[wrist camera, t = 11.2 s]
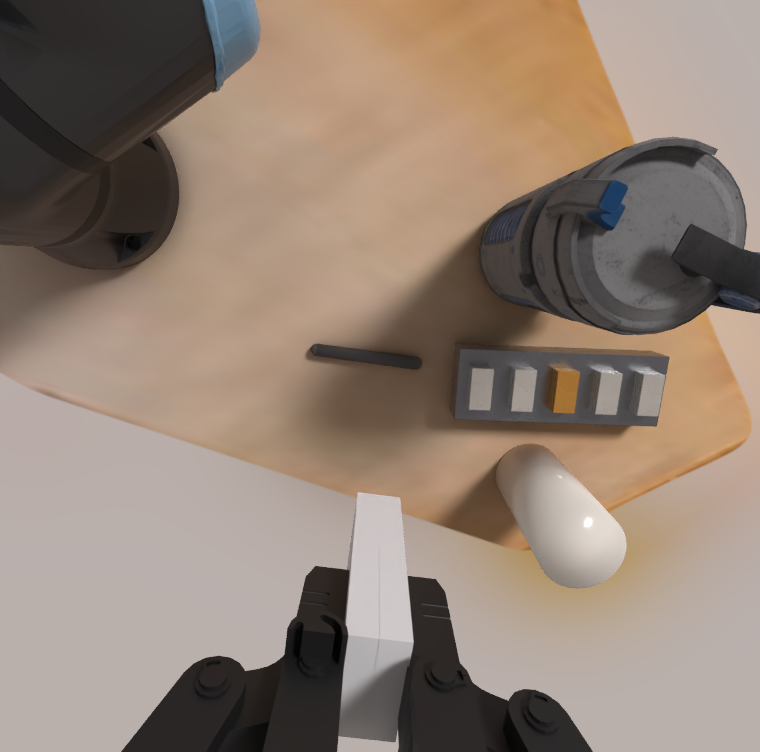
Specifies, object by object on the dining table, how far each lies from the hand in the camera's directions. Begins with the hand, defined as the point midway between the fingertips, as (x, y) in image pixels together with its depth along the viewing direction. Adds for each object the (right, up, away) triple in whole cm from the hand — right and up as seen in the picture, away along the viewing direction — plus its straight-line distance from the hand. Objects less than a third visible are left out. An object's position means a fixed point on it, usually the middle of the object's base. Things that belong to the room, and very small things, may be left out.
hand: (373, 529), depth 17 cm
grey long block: (+18, +5, +33) cm, 37 cm away
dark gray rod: (-1, +8, +32) cm, 32 cm away
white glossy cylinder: (+16, -5, +35) cm, 39 cm away
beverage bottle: (+15, +17, +30) cm, 37 cm away
